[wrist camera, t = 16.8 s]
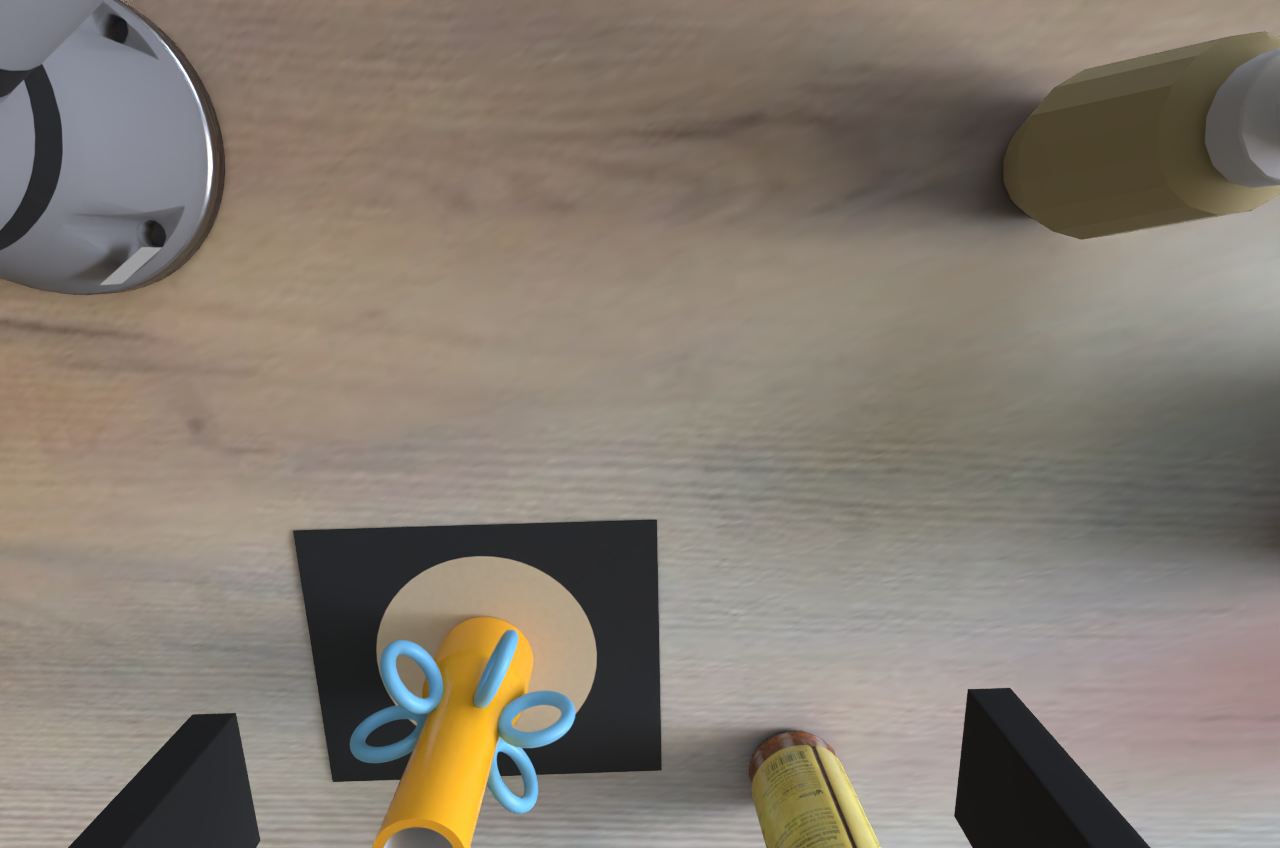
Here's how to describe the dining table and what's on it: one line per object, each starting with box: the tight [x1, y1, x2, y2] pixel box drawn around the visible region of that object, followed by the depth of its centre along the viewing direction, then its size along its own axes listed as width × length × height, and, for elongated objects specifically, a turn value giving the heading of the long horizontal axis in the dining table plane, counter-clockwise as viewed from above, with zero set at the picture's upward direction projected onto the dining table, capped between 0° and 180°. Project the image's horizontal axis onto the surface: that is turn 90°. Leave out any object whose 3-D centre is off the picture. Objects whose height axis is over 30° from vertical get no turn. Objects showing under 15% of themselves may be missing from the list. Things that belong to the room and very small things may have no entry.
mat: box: [293, 520, 661, 782], centre depth 44 cm, size 22×18×1 cm
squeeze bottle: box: [1004, 31, 1280, 239], centre depth 29 cm, size 8×8×18 cm
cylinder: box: [350, 617, 575, 848], centre depth 37 cm, size 12×10×15 cm
